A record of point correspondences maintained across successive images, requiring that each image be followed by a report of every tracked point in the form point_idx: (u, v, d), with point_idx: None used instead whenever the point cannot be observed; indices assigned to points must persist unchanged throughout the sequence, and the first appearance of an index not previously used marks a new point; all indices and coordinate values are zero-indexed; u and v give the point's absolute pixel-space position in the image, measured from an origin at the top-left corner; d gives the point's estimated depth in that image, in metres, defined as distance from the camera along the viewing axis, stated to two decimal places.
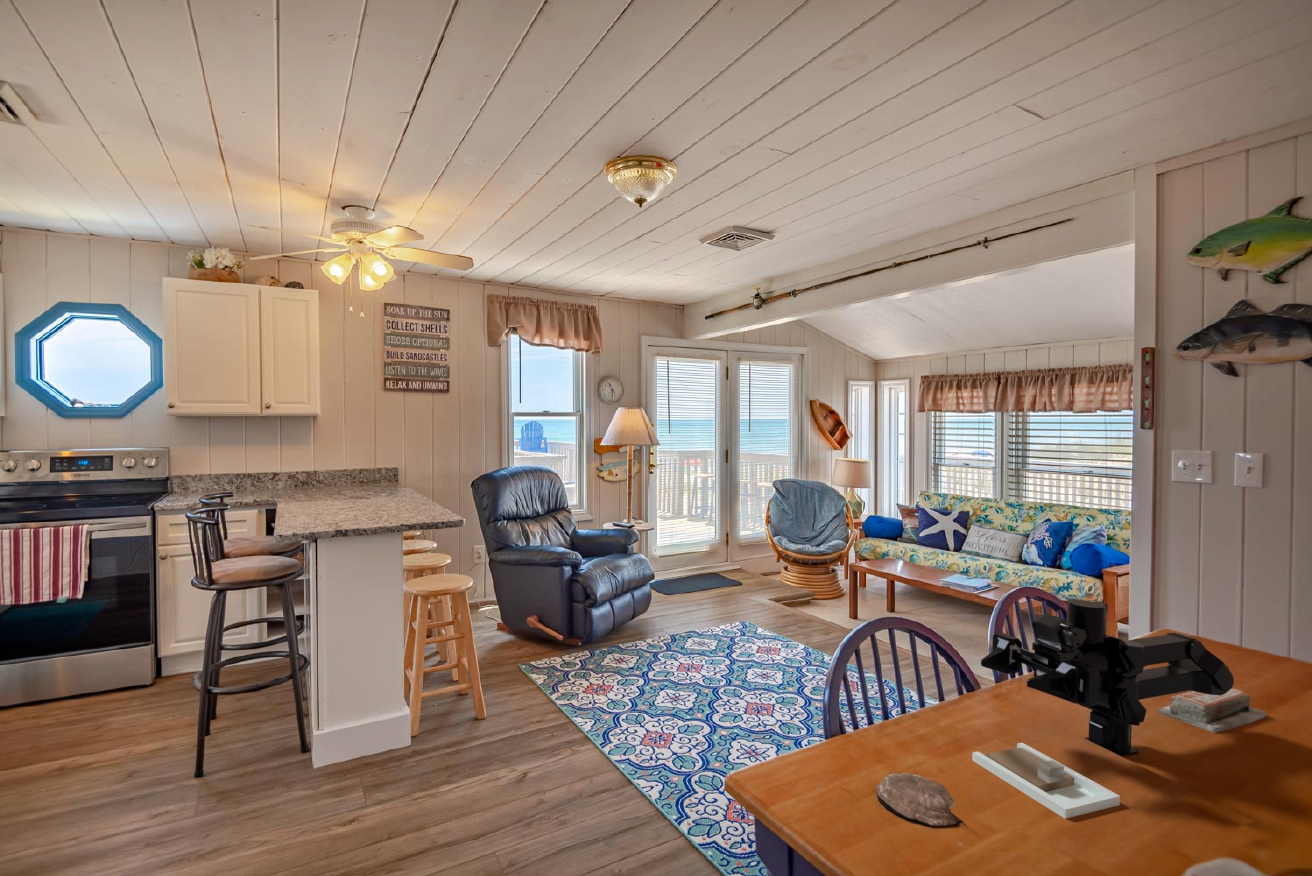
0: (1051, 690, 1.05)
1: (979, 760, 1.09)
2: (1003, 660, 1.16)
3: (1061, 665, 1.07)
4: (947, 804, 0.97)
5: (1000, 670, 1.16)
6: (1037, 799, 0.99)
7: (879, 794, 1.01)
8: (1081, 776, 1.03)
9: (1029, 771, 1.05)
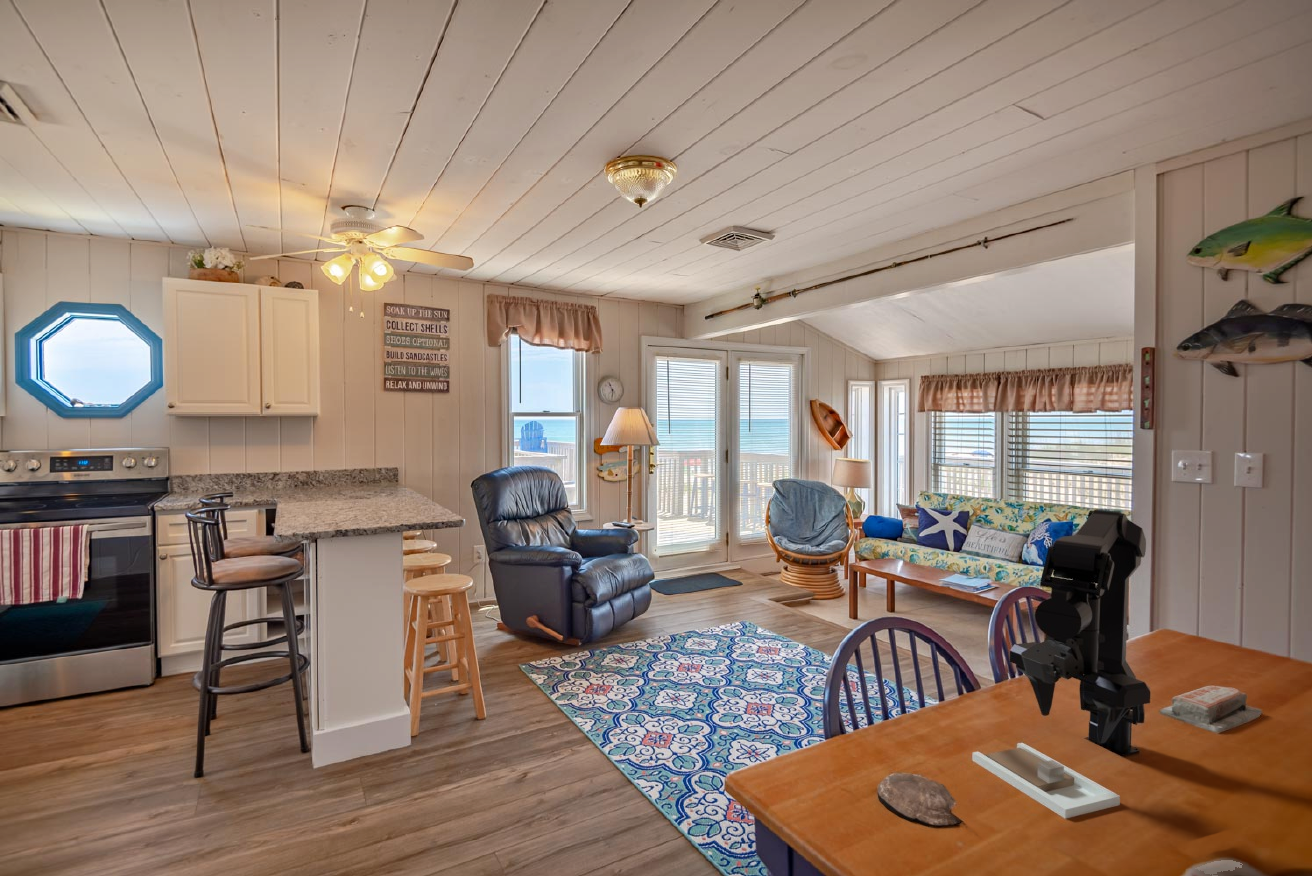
0: (1116, 720, 0.94)
1: (979, 760, 1.09)
2: None
3: (1096, 703, 0.93)
4: (948, 804, 0.97)
5: (1054, 684, 1.04)
6: (1037, 799, 0.99)
7: (880, 794, 1.01)
8: (1081, 776, 1.03)
9: (1029, 771, 1.05)
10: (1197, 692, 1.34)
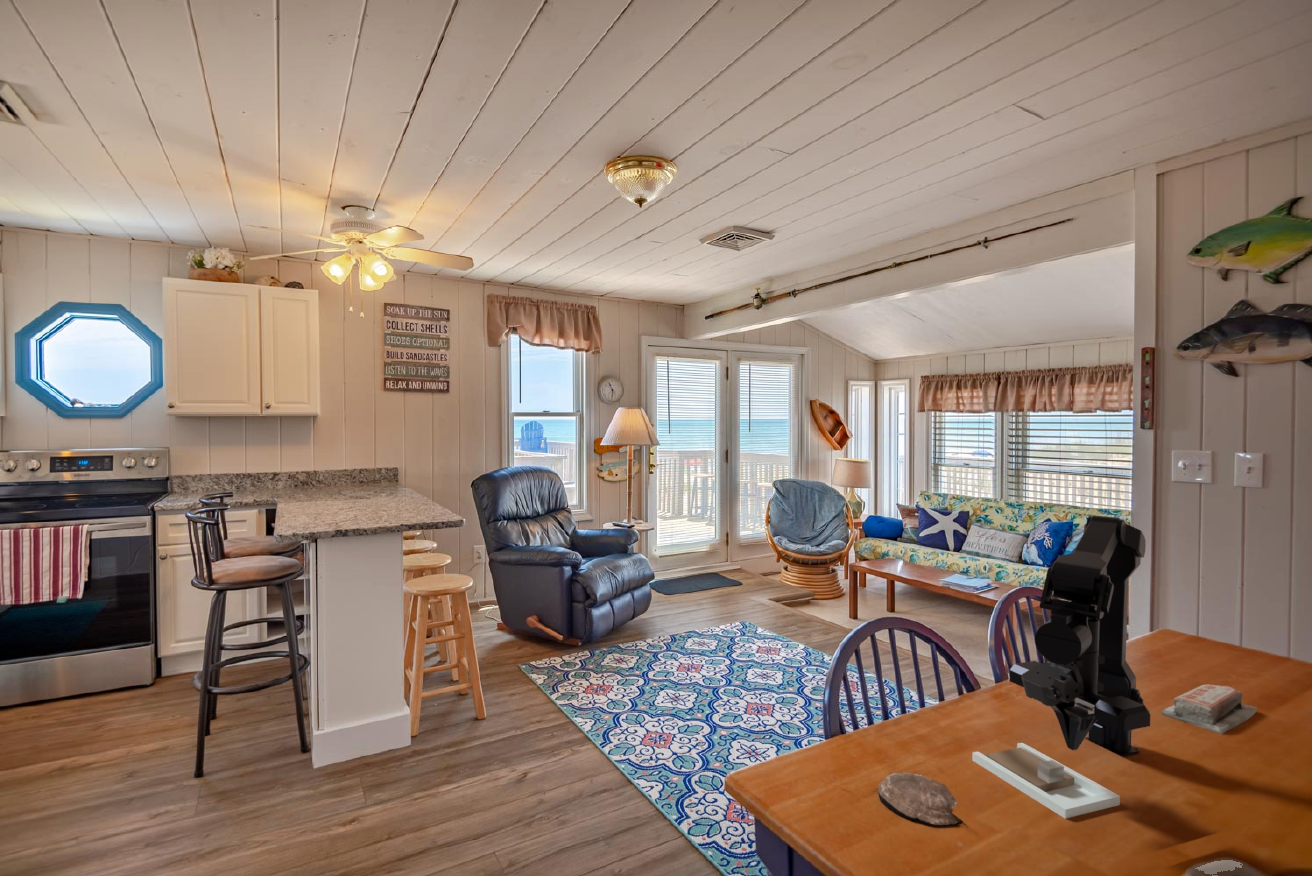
0: (1087, 728, 0.98)
1: (979, 760, 1.09)
2: None
3: (1067, 713, 0.98)
4: (949, 803, 0.97)
5: None
6: (1037, 799, 0.99)
7: (881, 793, 1.01)
8: (1081, 776, 1.03)
9: (1029, 771, 1.05)
10: (1196, 692, 1.34)
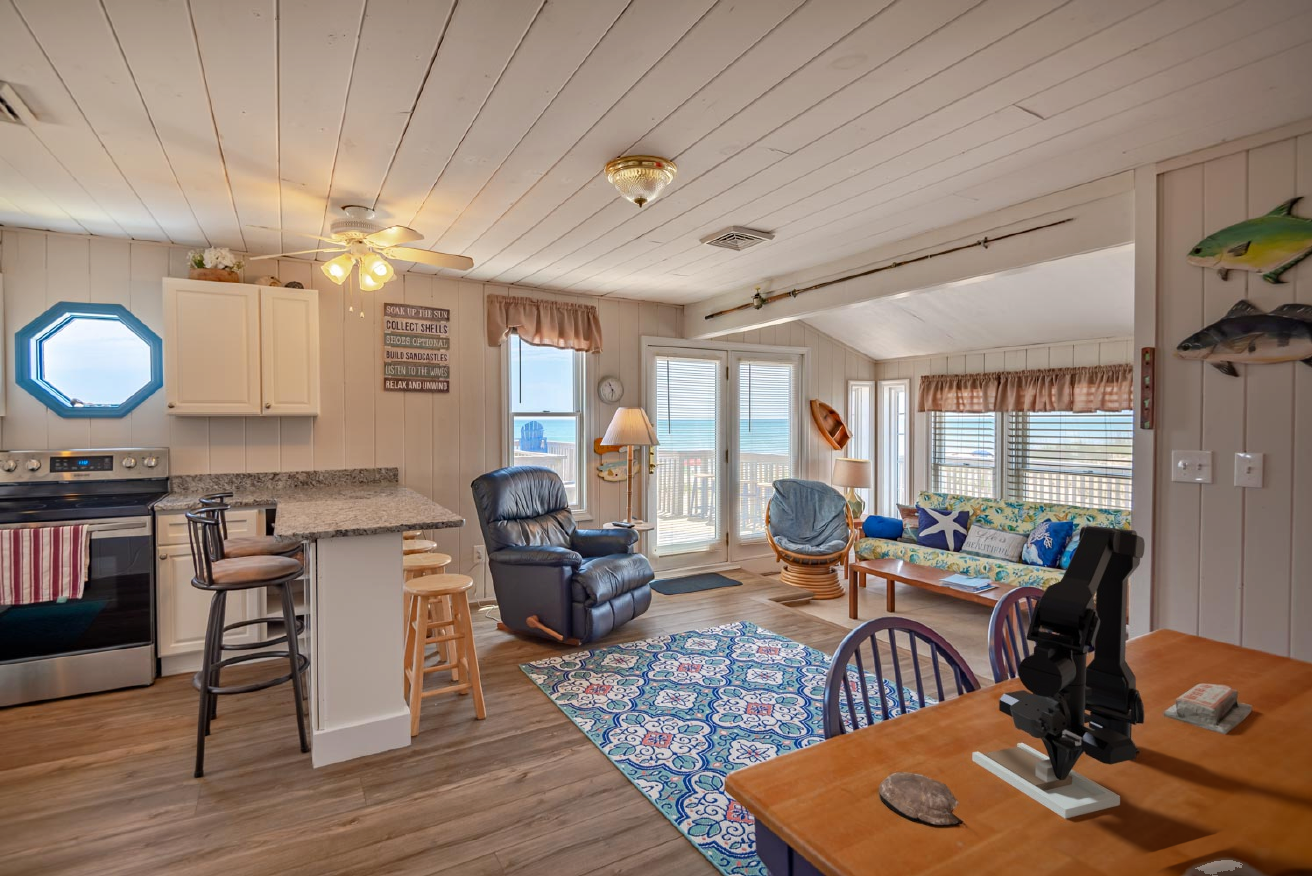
0: (1075, 759, 1.00)
1: (979, 760, 1.09)
2: None
3: (1055, 744, 0.99)
4: (949, 803, 0.97)
5: None
6: (1037, 799, 0.99)
7: (881, 793, 1.01)
8: (1081, 776, 1.03)
9: (1027, 770, 1.05)
10: (1195, 692, 1.34)
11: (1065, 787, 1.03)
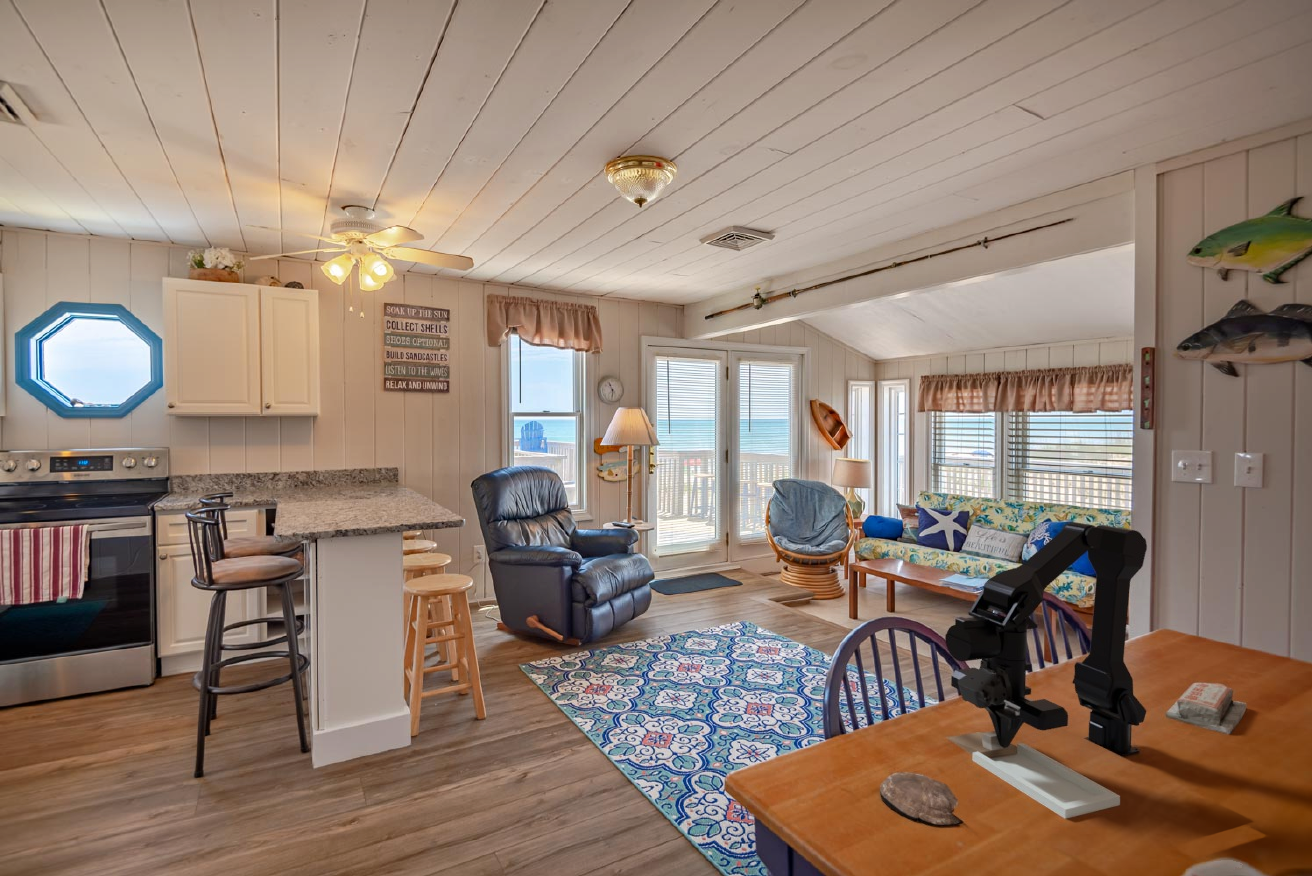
0: (1016, 728, 1.10)
1: (979, 760, 1.09)
2: None
3: (998, 714, 1.09)
4: (950, 803, 0.97)
5: None
6: (1037, 799, 0.99)
7: (882, 793, 1.01)
8: (1081, 776, 1.03)
9: (976, 743, 1.15)
10: (1194, 692, 1.34)
11: (1065, 787, 1.03)
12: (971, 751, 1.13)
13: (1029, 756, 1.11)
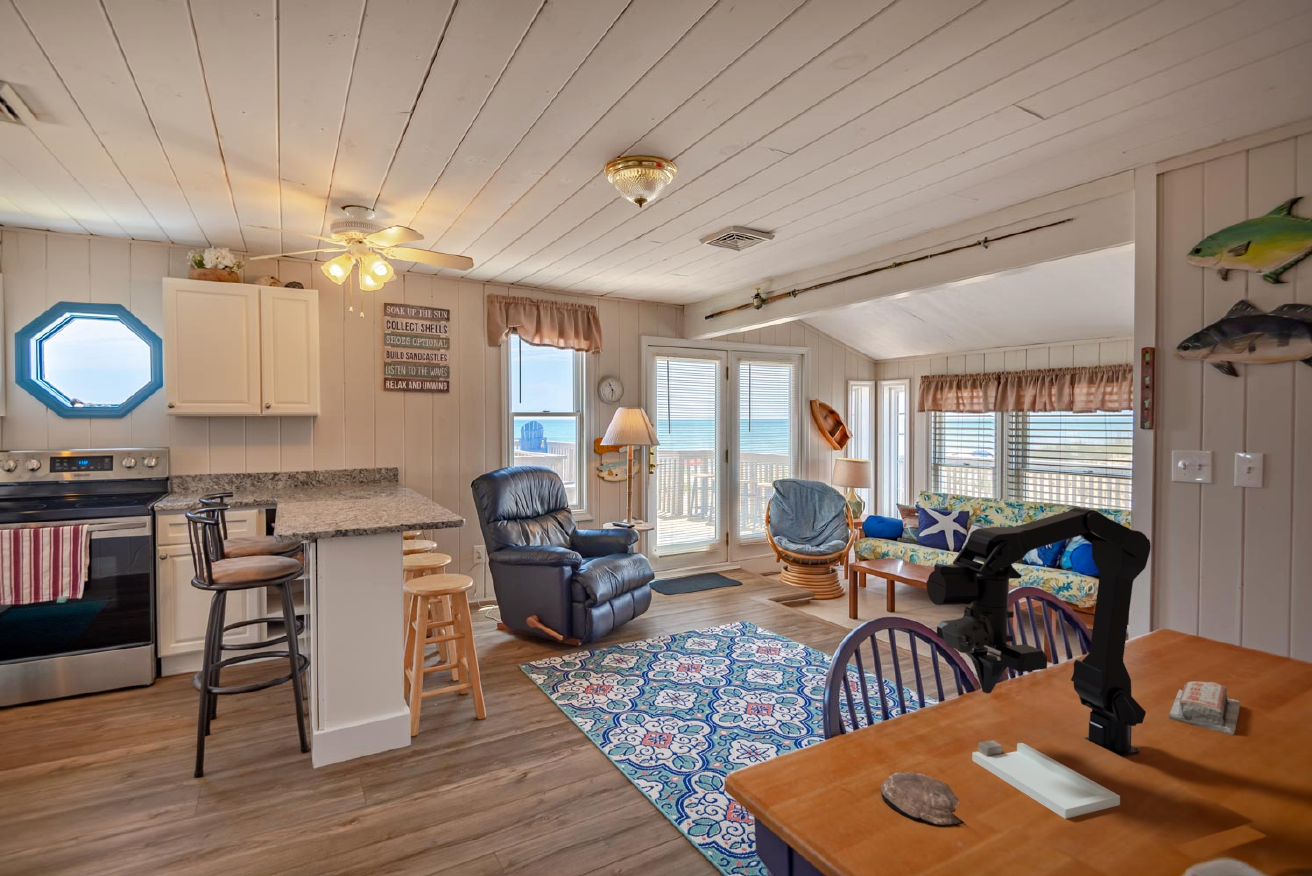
0: (999, 674, 1.13)
1: (979, 760, 1.09)
2: None
3: (981, 660, 1.13)
4: (952, 803, 0.97)
5: None
6: (1037, 799, 0.99)
7: (884, 793, 1.01)
8: (1081, 776, 1.03)
9: None
10: (1193, 691, 1.34)
11: (1065, 787, 1.03)
12: None
13: (1029, 756, 1.11)
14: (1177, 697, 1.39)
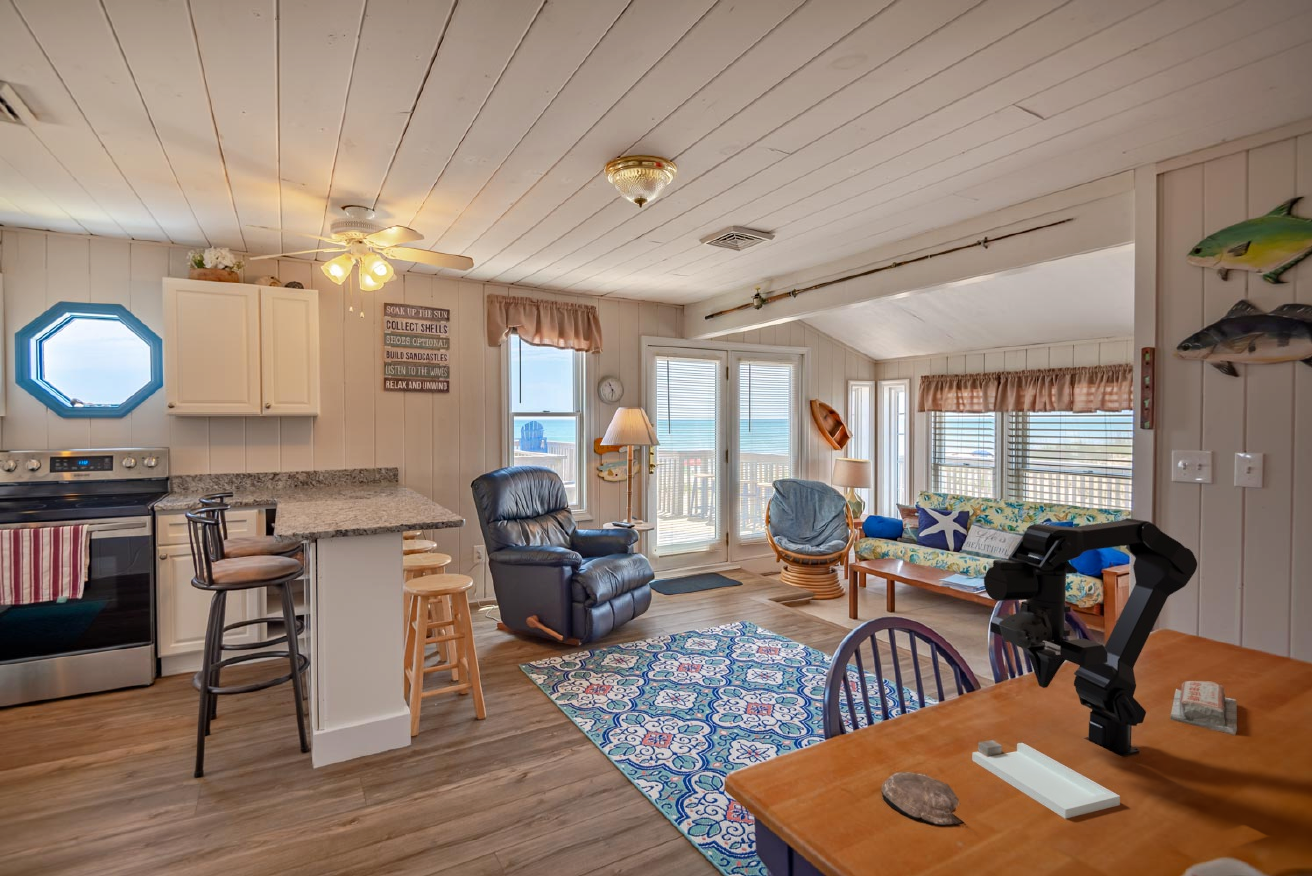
0: (1056, 668, 1.14)
1: (979, 760, 1.09)
2: None
3: (1038, 654, 1.13)
4: (952, 803, 0.97)
5: None
6: (1037, 799, 0.99)
7: (884, 793, 1.01)
8: (1081, 776, 1.03)
9: None
10: (1192, 691, 1.34)
11: (1065, 787, 1.03)
12: None
13: (1029, 756, 1.11)
14: (1175, 697, 1.39)
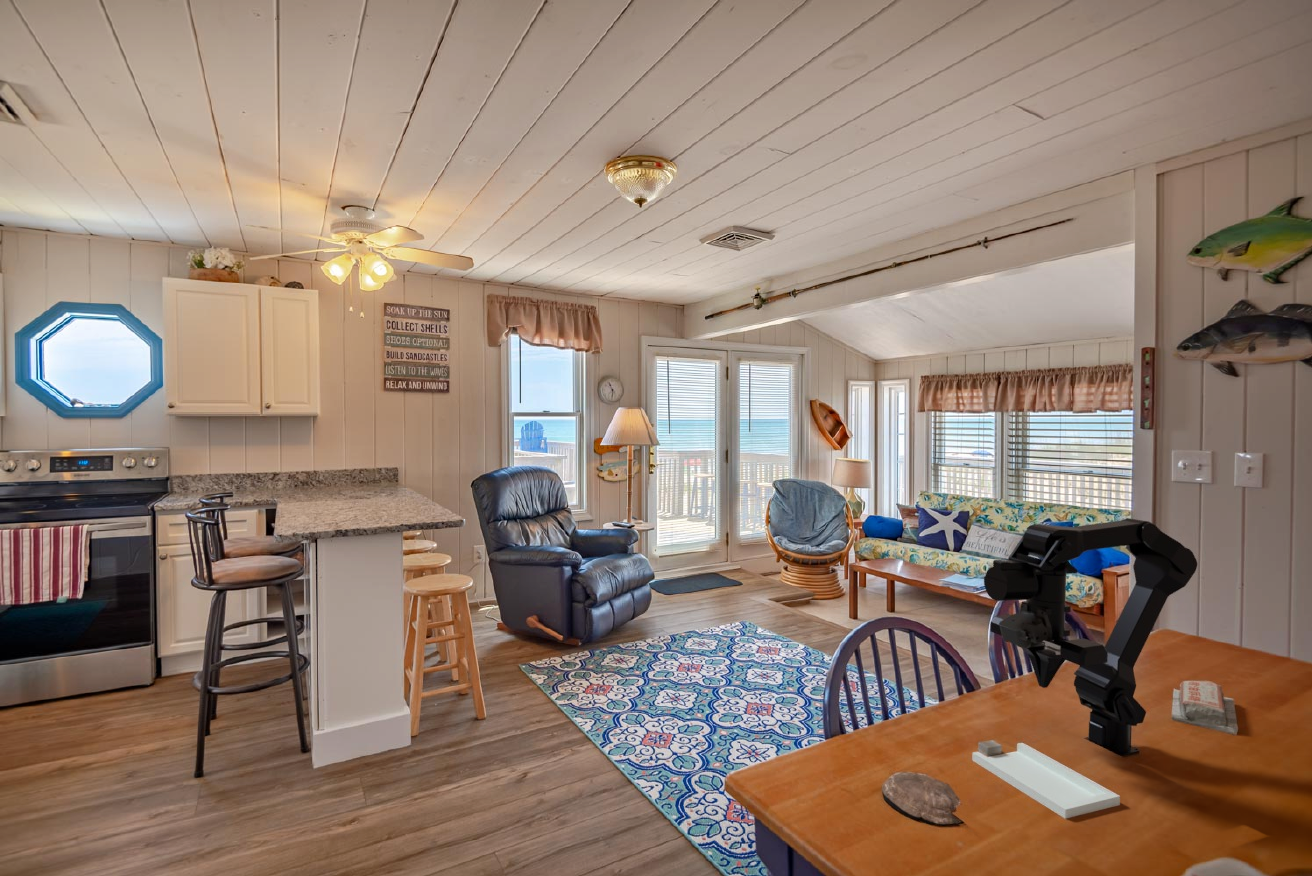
0: (1056, 668, 1.14)
1: (979, 760, 1.09)
2: None
3: (1038, 654, 1.13)
4: (953, 803, 0.97)
5: None
6: (1037, 799, 0.99)
7: (885, 793, 1.01)
8: (1081, 776, 1.03)
9: None
10: (1192, 691, 1.34)
11: (1065, 787, 1.03)
12: None
13: (1029, 756, 1.11)
14: (1174, 697, 1.39)
